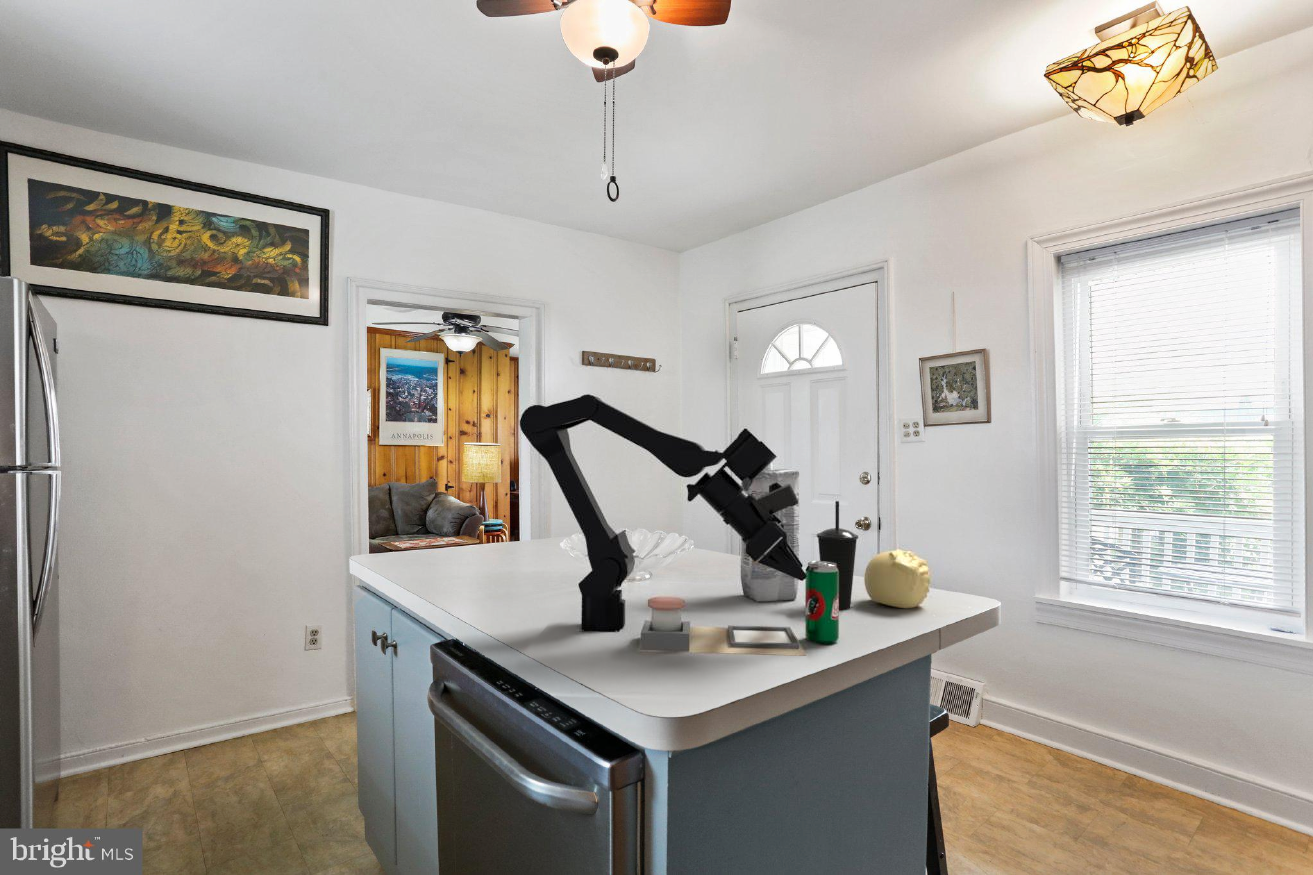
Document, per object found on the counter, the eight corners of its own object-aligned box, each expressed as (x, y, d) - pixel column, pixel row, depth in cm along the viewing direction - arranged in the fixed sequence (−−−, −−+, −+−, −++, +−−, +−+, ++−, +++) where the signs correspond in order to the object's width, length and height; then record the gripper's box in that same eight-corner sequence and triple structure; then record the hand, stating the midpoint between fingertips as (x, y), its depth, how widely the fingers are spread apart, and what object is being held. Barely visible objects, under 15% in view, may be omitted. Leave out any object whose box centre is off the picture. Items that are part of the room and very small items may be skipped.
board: (636, 655, 96) (636, 646, 96) (644, 629, 110) (644, 621, 110) (806, 659, 94) (806, 651, 94) (792, 632, 108) (792, 625, 108)
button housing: (640, 650, 96) (640, 632, 96) (644, 636, 103) (644, 620, 103) (689, 651, 96) (689, 633, 96) (689, 637, 103) (690, 621, 103)
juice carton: (803, 600, 131) (804, 463, 132) (754, 603, 128) (755, 463, 129) (782, 591, 140) (783, 462, 140) (736, 594, 137) (737, 462, 137)
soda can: (839, 646, 101) (840, 566, 101) (805, 643, 102) (805, 565, 102) (837, 637, 106) (837, 561, 106) (805, 635, 107) (805, 559, 107)
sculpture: (923, 615, 121) (923, 555, 121) (857, 606, 127) (857, 549, 127) (936, 603, 130) (935, 547, 130) (873, 595, 137) (873, 542, 137)
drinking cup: (843, 613, 121) (843, 503, 121) (808, 606, 127) (808, 500, 127) (866, 607, 126) (866, 501, 126) (831, 600, 132) (831, 499, 132)
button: (646, 634, 97) (646, 604, 97) (649, 624, 102) (649, 596, 103) (684, 635, 96) (684, 605, 97) (685, 625, 102) (685, 596, 102)
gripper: (768, 467, 96) (848, 545, 95) (766, 465, 115) (833, 530, 113) (714, 521, 97) (791, 599, 96) (721, 510, 116) (786, 575, 114)
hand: (802, 573), depth 105 cm, fingers open, 9 cm apart
